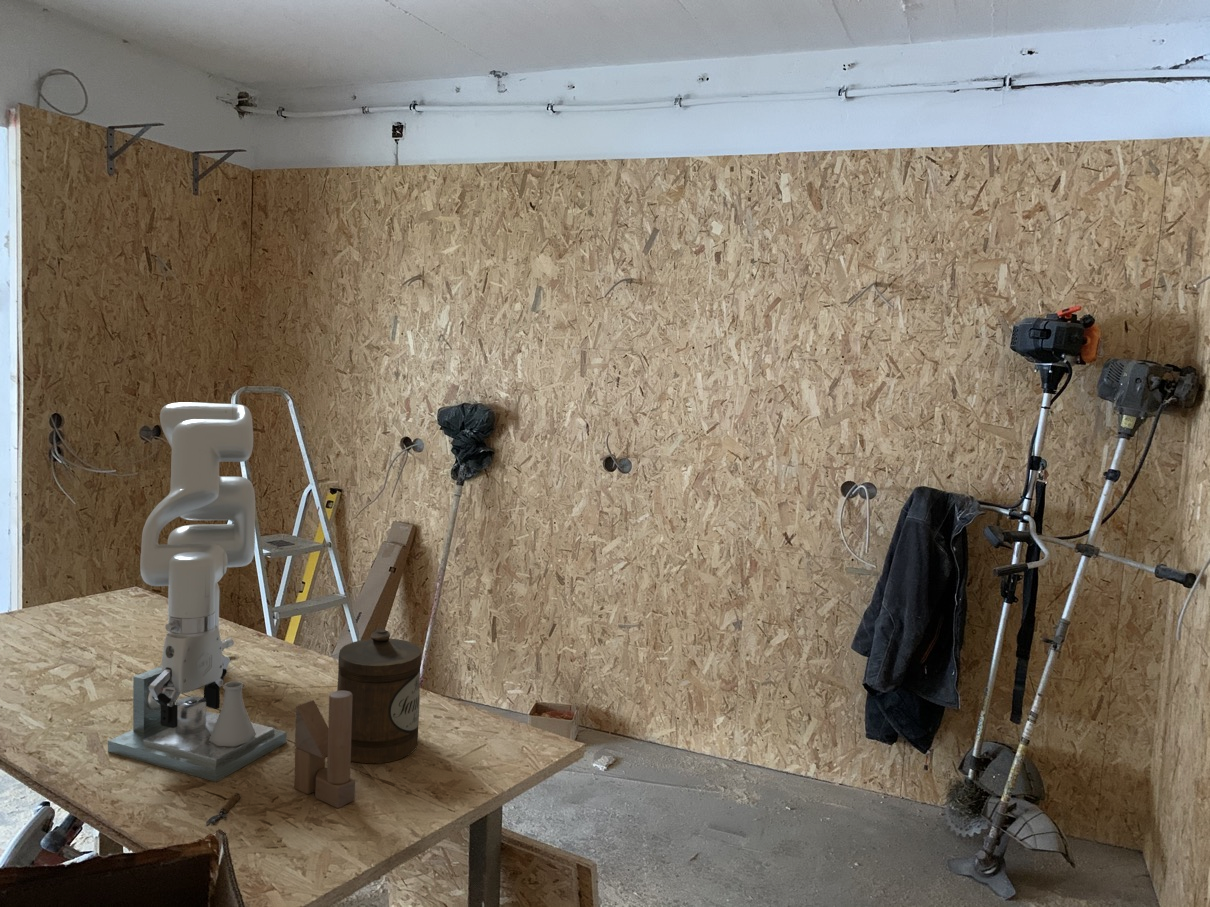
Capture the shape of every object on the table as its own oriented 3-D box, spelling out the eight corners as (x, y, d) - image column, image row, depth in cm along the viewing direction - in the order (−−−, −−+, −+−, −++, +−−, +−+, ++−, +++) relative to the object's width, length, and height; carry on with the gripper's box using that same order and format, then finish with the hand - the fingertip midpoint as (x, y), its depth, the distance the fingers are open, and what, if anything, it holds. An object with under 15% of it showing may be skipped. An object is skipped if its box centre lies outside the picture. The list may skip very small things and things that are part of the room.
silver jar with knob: (190, 720, 163) (191, 694, 162) (212, 726, 161) (212, 699, 161) (168, 731, 158) (169, 703, 158) (190, 736, 157) (190, 709, 156)
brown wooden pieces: (311, 780, 150) (313, 677, 148) (355, 800, 144) (358, 693, 142) (292, 788, 147) (295, 683, 145) (337, 809, 141) (340, 700, 139)
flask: (234, 751, 152) (235, 694, 151) (200, 743, 154) (201, 687, 153) (263, 735, 159) (264, 680, 158) (230, 727, 161) (231, 674, 160)
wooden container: (416, 763, 158) (420, 643, 156) (329, 765, 156) (332, 643, 153) (419, 728, 173) (423, 618, 170) (340, 729, 170) (343, 617, 168)
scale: (184, 716, 171) (185, 656, 170) (286, 742, 163) (287, 679, 162) (107, 751, 156) (107, 685, 154) (216, 782, 147) (217, 712, 146)
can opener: (234, 798, 143) (234, 791, 143) (248, 800, 143) (248, 793, 143) (201, 828, 134) (201, 820, 134) (215, 829, 134) (215, 822, 134)
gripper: (168, 639, 148) (167, 738, 150) (244, 614, 164) (242, 704, 166) (134, 632, 151) (134, 730, 152) (212, 608, 167) (211, 697, 169)
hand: (190, 716), depth 159 cm, fingers open, 9 cm apart
